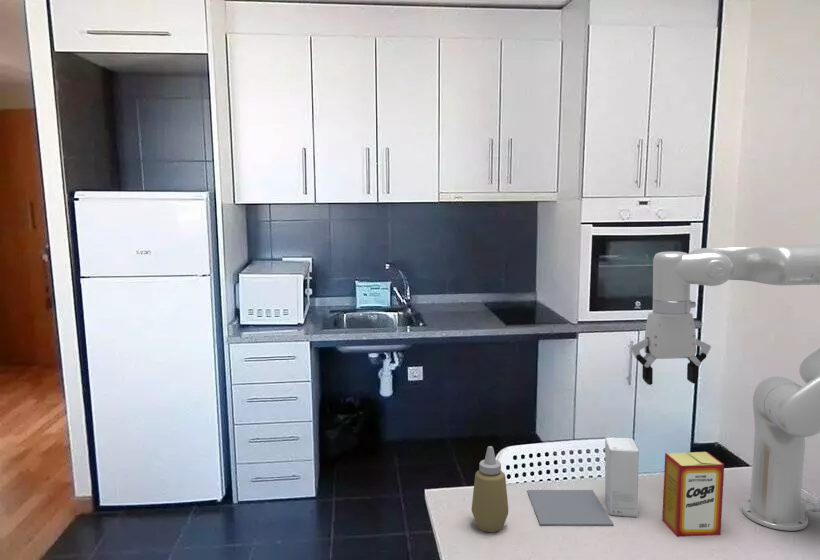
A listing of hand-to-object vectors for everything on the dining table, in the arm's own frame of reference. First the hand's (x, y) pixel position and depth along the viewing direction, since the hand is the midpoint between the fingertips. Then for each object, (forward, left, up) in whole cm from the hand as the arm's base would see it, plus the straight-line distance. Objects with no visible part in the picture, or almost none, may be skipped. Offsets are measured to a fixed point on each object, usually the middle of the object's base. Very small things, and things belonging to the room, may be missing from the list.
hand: (669, 382), depth 134 cm
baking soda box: (-2, +8, -30) cm, 31 cm away
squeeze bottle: (+41, +8, -30) cm, 52 cm away
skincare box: (+10, 0, -30) cm, 32 cm away
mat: (+22, 0, -30) cm, 37 cm away
